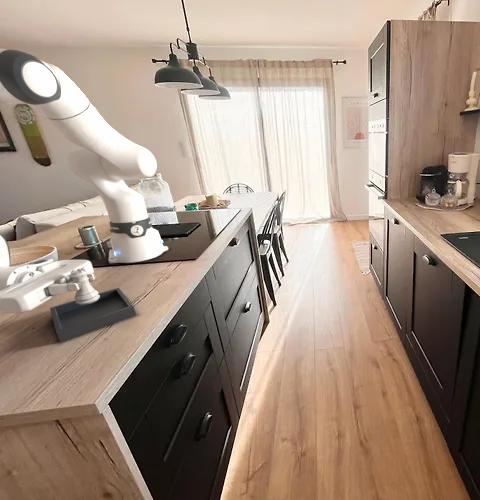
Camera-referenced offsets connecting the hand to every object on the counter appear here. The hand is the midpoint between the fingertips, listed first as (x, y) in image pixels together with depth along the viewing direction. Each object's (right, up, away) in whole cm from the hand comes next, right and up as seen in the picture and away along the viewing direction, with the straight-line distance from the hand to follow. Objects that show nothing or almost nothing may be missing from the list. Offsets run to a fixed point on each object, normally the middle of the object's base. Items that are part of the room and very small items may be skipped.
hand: (86, 281), depth 67 cm
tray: (-1, -9, +3) cm, 9 cm away
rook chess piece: (-1, -5, +2) cm, 5 cm away
